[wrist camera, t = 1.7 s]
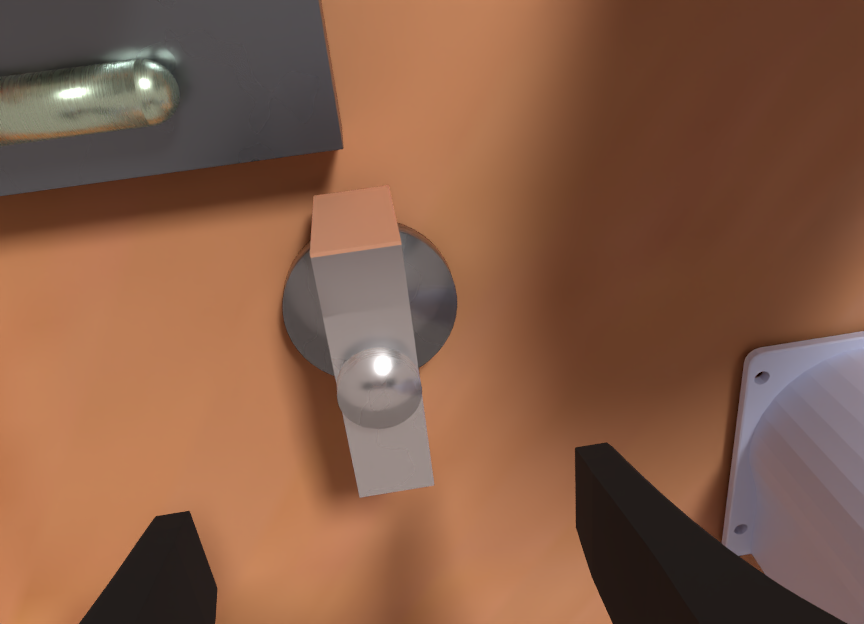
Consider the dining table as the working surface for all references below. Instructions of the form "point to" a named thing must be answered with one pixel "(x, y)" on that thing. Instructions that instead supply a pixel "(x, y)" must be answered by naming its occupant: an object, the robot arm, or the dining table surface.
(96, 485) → the dining table surface
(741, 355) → the dining table surface
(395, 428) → the wing knob
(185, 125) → the levelling base
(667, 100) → the dining table surface
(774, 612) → the robot arm
